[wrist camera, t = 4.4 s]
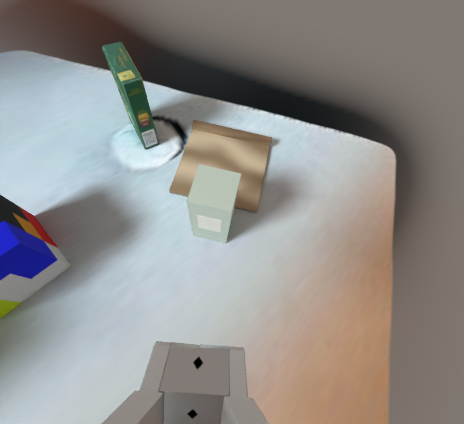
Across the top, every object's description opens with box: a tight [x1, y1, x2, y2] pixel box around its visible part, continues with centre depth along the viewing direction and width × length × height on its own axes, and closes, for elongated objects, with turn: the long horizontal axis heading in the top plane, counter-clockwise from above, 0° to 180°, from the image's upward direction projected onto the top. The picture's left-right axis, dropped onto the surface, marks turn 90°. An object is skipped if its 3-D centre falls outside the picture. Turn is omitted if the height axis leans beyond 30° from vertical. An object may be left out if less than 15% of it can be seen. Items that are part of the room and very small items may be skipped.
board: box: [169, 120, 272, 212], centre depth 41 cm, size 14×14×2 cm
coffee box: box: [102, 42, 159, 149], centre depth 38 cm, size 8×3×13 cm, turn 29°
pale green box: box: [187, 164, 241, 243], centre depth 33 cm, size 5×5×11 cm
